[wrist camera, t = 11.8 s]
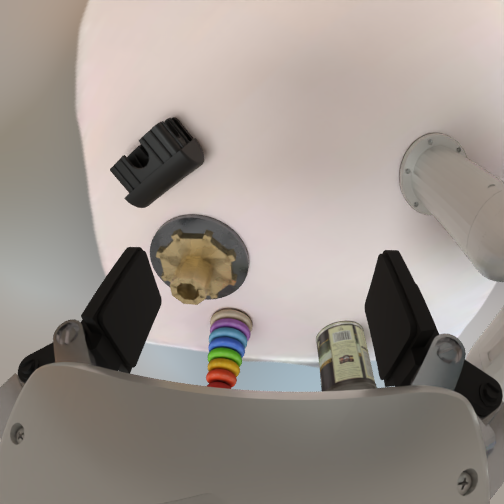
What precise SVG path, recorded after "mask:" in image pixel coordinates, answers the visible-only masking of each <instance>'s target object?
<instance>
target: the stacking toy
mask: <svg viewBox="0 0 504 504" xmlns="http://www.w3.org/2000/svg"><path fill="white" fill-rule="evenodd" d="M210 324H211V329H210V333H211V334H210V336H209V343H210V344H209V354H208V361H209V364H208V371H209V372H208V374H207V376H206V380H207V382H208V383H209V384H208V385H207V387H216V388H226V389H231V387H233V386H234V385H235V384H236V381H237V379H236V377H237V376H238V375H239V373H240V368H239V367H240V365H241V364H242V357H243V356H244V353H245V348H246V346H247V341H248V340H249V338H250V332H251V329H252V322H251V320H250V319H249V317H248V316H246V315H245V314H244V313H242V312H239V311H236V310H230V309H227V310H221V311H218V312H216V313H215V314H214V315H213V316H212V318H211V321H210Z"/></svg>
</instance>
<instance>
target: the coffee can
mask: <svg viewBox="0 0 504 504" xmlns="http://www.w3.org/2000/svg"><path fill="white" fill-rule="evenodd" d="M316 342H317V348H318V356H319V366H320V377H321V387H322V392H324V391H345V390H362V389H375V388H377V387H376V384H375V381H374V376H373V372H372V367H371V362H370V358H369V353H368V349H367V345H366V341H365V337H364V333H363V328H362V327H361V326H360V325H359V324H357V323H355V322H351V321H343V322H337V323H334V324H331V325H329V326H327V327H325V328H324V329H322V330H321V331H320V332H319V334H318V335H317V338H316Z"/></svg>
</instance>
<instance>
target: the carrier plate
mask: <svg viewBox="0 0 504 504" xmlns="http://www.w3.org/2000/svg"><path fill="white" fill-rule="evenodd" d="M178 229H181V231H182V233H201V234H205V232H206V229H207V230H209V231H212V232H213V235H212V237H213V238H215V239H216V240H217V241H218V242H219V243H221V244H222V245H223V246H224V247H225V248H227V249H228V250H232V249H234V251H235V253H236V254H237V255H236V261H233V262H232V267H233V273H234V274H236V275H237V280H236V283H235V285H234V286H233V285H230V284H229V285H228V286H226V287H225V288H223V289H222V290H221V291H219V294H218V297H217V298H222V297H225V296H227V295H230V294H231V293H233V292H235V291H236V290H237V289H238V288H239V287H240V286H241V285H242V284H243V282H244V280H245V278H246V276H247V272H248V264H249V259H248V253H247V249H246V247H245V245H244V243H243V241H242V240H241V238H240V237H239V236H238V234H237V233H236V232H235V231H233V230H232V229H231V228H230V227H229V226H227V225H226V224H224V223H222V222H221V221H218V220H216V219H214V218H211V217H207V216H202V215H183V216H179V217H176V218H173V219H171V220H169V221H168V222H166V223H165V224H163V225H162V226H161V227H160V229H159V230H158V231H157V233H156V234H155V236H154V238H153V240H152V243H151V246H150V258H151V262H152V265H153V268H154V270H155V271H156V273H157V275H158V276H159V277H160V278H161V275H162V273H163V268H162V264H161V259H160V258H157V257H156V254H157V251H158V249H159V247H160V246H161V247H164V248H165V247H166V246H167V245H168V244H169V243H170V242H171V241H172V240H173V239H172V237H171V236H172V234H173V232H174V231H176V230H178ZM161 280H162V281H163V282H164V283H165V284H167V285H168V286H169V287H170V283H171V282H170V281H164V280H163V279H162V278H161ZM217 298H213V299H217ZM206 299H212V298H211V297H210V296H208V295H207V296H206Z"/></svg>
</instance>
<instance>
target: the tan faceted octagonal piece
mask: <svg viewBox="0 0 504 504" xmlns="http://www.w3.org/2000/svg"><path fill="white" fill-rule="evenodd" d="M212 235H213V232H212V231H209V230H207V229H206V232H205V234H201V233H182V231H181V229H178V230H176V231H174V232H173V234H172V236H171V237H172V239H173V240H172V241H171V242H170V243H169V244H168V245H167V246H166V247H165V248H164V247H161V246H160V247H159V249H158V251H157V254H156V257H157V258H160V259H161V264H162V268H163V273H162V275H161V278H162V279H163V280H164V281H170V282H171V283H170V288H171V292H172V296H174V297H175V298H176V299H178V300H179V301H181V302H182V303H184V304H195V305H198V304H199V303H200V302H202V301H203V300H204V299H206V296H207V295H208V296H210V297H211V298H212V299H213V298H217V297H218V294H219V291H221V290H222V289H223V288H225V287H226V286H228V285H229V284H230V285H233V286H234V285H235V283H236V280H237V275H236V274H234V273H233V267H232V262H233V261H236V255H237V254H236V253H235V251H234V249H232V250H228V249H227V248H225V247H224V246H223V245H222V244H221V243H219V242H218V241H217V240H216V239H215V238H213V237H212Z"/></svg>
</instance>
